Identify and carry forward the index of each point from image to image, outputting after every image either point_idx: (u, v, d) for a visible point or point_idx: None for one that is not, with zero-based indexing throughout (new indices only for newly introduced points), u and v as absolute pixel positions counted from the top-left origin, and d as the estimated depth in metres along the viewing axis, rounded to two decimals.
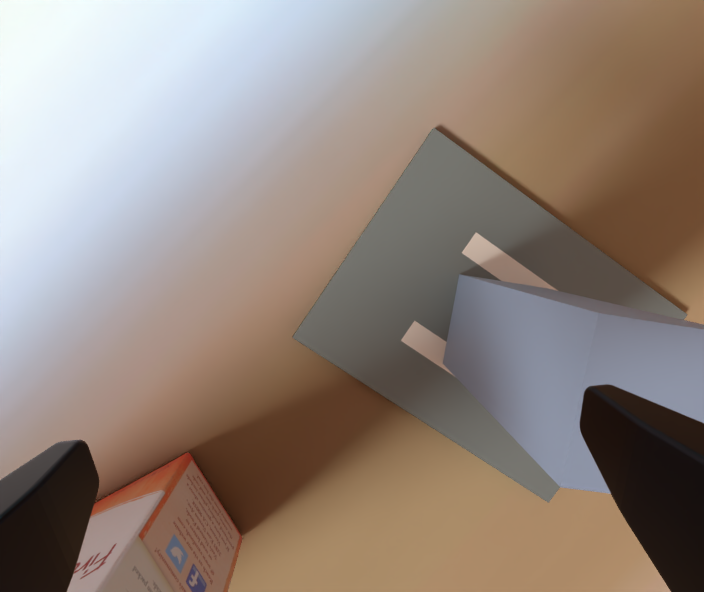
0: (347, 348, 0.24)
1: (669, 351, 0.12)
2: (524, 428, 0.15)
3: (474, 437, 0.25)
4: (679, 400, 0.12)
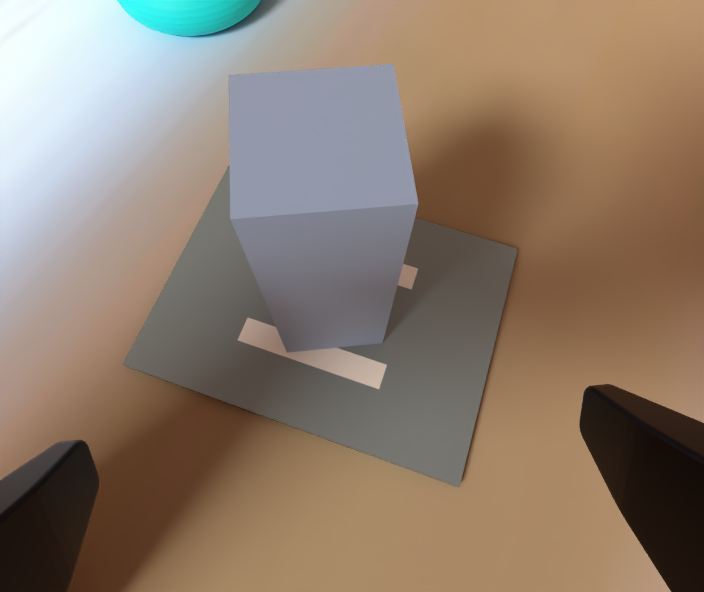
0: (182, 361, 0.22)
1: (304, 89, 0.13)
2: None
3: (344, 426, 0.21)
4: (328, 122, 0.13)
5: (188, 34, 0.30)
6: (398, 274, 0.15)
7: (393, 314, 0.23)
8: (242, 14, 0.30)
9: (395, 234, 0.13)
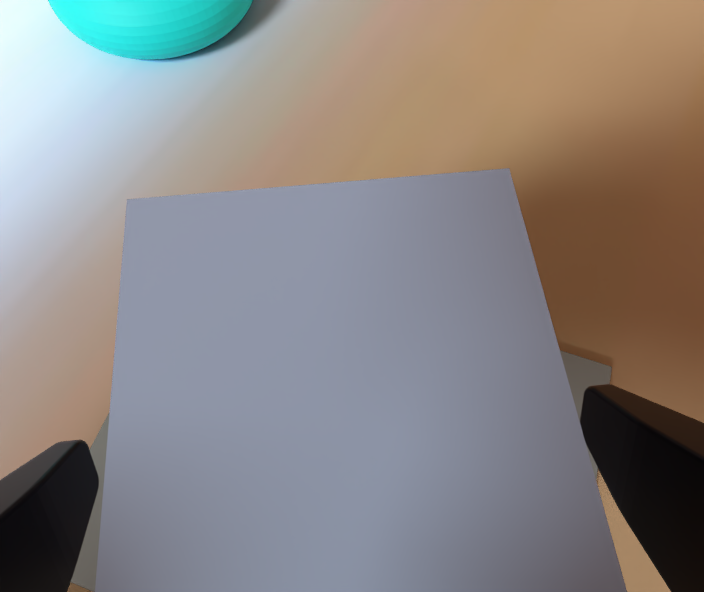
0: None
1: (304, 236, 0.05)
2: None
3: None
4: (366, 330, 0.05)
5: (149, 57, 0.22)
6: None
7: None
8: (221, 31, 0.22)
9: None
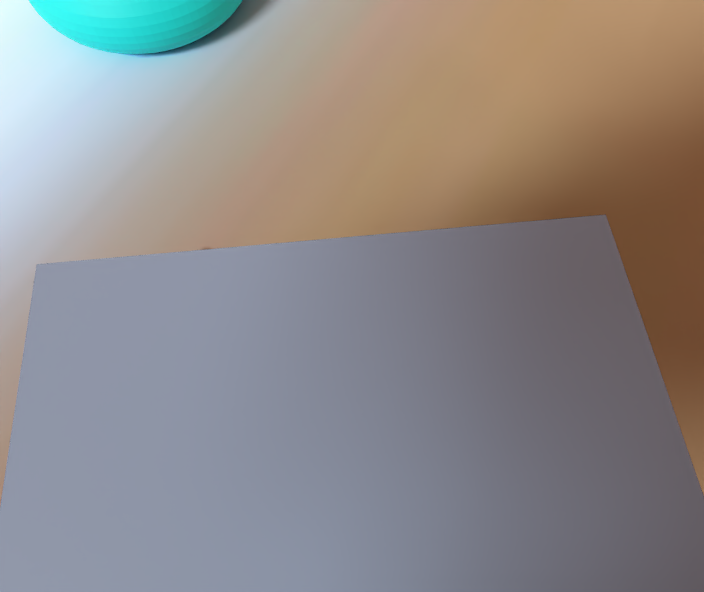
0: None
1: (304, 323, 0.04)
2: None
3: None
4: (402, 486, 0.03)
5: (134, 52, 0.20)
6: None
7: None
8: (213, 23, 0.21)
9: None
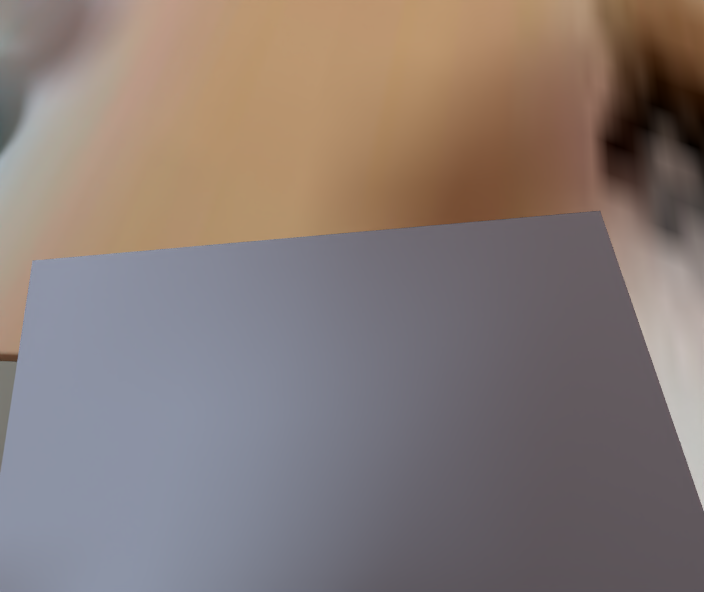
0: None
1: (297, 319, 0.04)
2: None
3: None
4: (396, 481, 0.03)
5: None
6: None
7: None
8: None
9: None
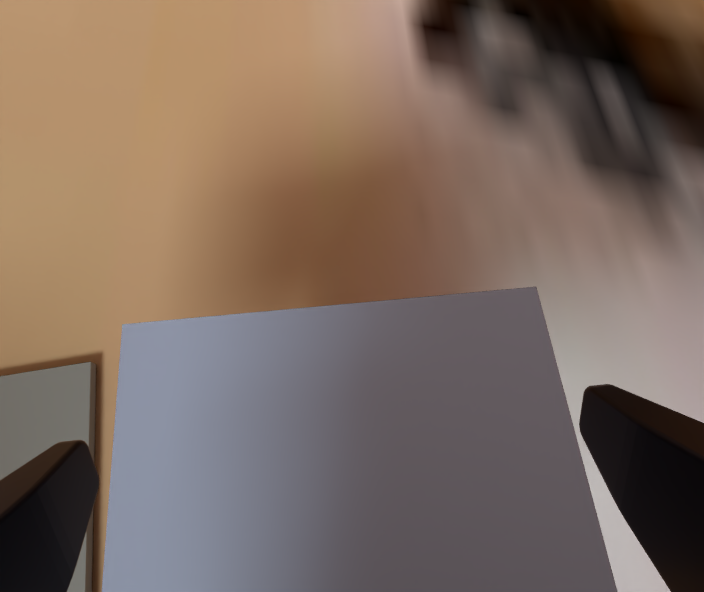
0: None
1: (315, 369, 0.05)
2: None
3: None
4: (383, 485, 0.05)
5: None
6: None
7: None
8: None
9: None
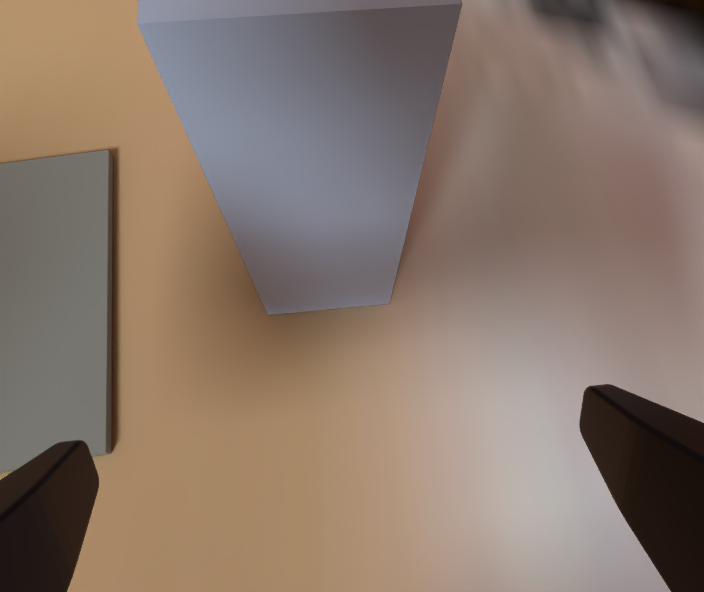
0: None
1: None
2: None
3: None
4: None
5: None
6: (417, 177, 0.11)
7: None
8: None
9: (418, 84, 0.08)
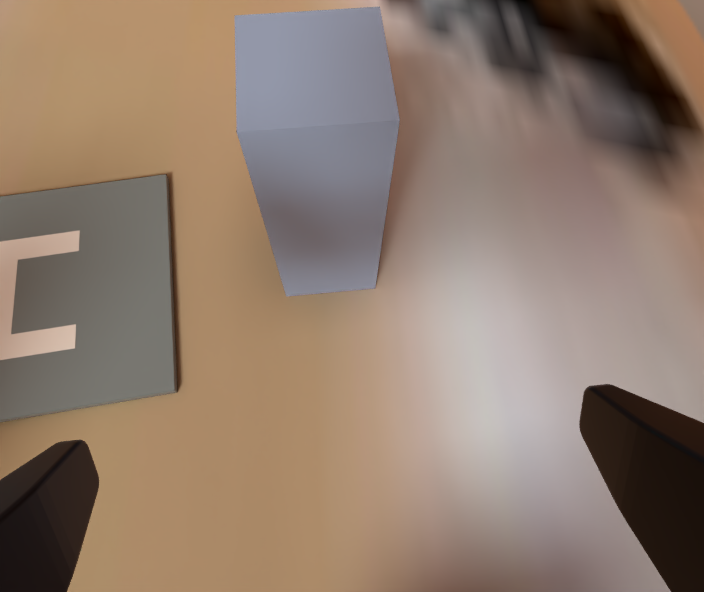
0: None
1: (301, 27, 0.15)
2: None
3: (52, 394, 0.22)
4: (322, 54, 0.14)
5: None
6: (386, 202, 0.17)
7: (68, 279, 0.24)
8: None
9: (381, 154, 0.15)
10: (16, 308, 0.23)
